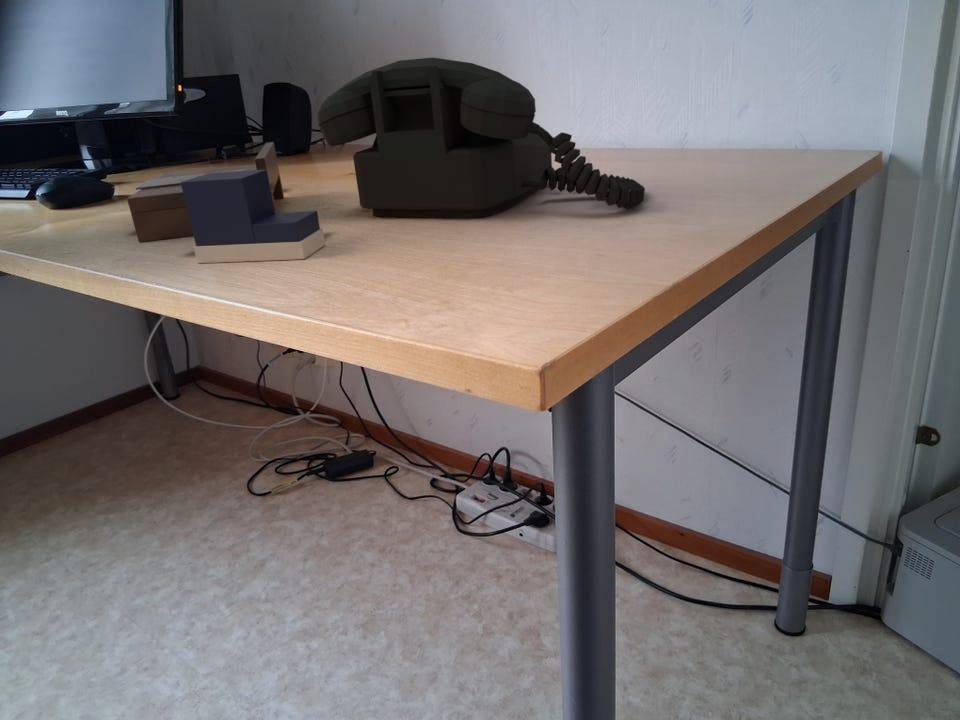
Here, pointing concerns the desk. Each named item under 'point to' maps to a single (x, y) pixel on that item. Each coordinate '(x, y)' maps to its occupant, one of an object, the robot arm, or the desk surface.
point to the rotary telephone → (455, 142)
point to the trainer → (246, 220)
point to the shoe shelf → (164, 203)
